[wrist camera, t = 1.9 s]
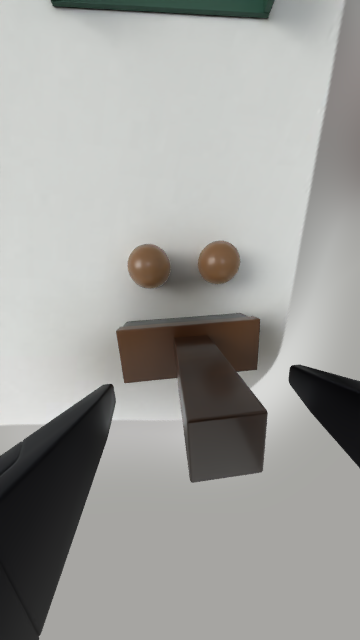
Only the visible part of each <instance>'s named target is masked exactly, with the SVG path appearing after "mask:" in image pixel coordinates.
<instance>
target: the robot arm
mask: <svg viewBox="0 0 360 640" xmlns="http://www.w3.org/2000/svg"><path fill="white" fill-rule="evenodd" d="M289 383H290V385H291V386H292V388H293V389H294V390H295V392H296V393H297V394H298V396H299V397H300V398H301V400H302V401H303V402H304V404H305V405H306V406H307V408H308V409H309V410H310V412H311V413H312V414H313V415H314V416H315V417H316V419H317V420H318V421H319V422H320V423H321V424H322V426H323V427H324V428H325V429H326V430H327V431H328V432H329V434H330V435H331V436H332V437H333V438H334V439H335V440H336V441H337V442H338V444H339V445H340V446H341V447H342V448H343V449H344V451H345V452H346V453H347V454H348V455H349V456H350V457H351V459H352V460H353V461H354V462H355V463H356V464H357V465H358V466H359V468H360V381H357V380H353V379H350V378H346V377H342V376H338V375H335V374H332V373H327V372H324V371H321V370H317V369H313V368H310V367H306V366H302V365H292V366H291V367H290V372H289ZM115 403H116V398H115V392H114V387H113V385H112V384H105V385H102V386H101V387H99V388H98V389H96V390H95V391H94V392H92V393H91V394H89V395H88V396H86V397H85V398H83V399H82V400H81V401H79V402H78V403H76V404H75V405H73V406H72V407H70V408H69V409H67V410H66V411H65V412H63V413H62V414H60V415H59V416H57V417H56V418H54V419H53V420H52V421H50V422H49V423H47V424H46V425H44V426H43V427H41V428H40V429H39V430H37V431H36V432H34V433H33V434H31V435H30V436H29V437H27V438H26V439H24V440H23V442H20V443H19V444H17V445H15V446H14V447H12V448H11V449H10V450H8V451H7V452H5V453H4V454H2V455H1V456H0V640H39V635H40V634H41V632H42V629H43V626H44V623H45V620H46V617H47V614H48V611H49V608H50V605H51V602H52V599H53V596H54V593H55V591H56V587H57V585H58V581H59V579H60V576H61V573H62V570H63V567H64V564H65V561H66V558H67V555H68V552H69V549H70V546H71V544H72V540H73V537H74V535H75V532H76V529H77V526H78V523H79V520H80V517H81V514H82V511H83V508H84V505H85V502H86V500H87V497H88V494H89V491H90V488H91V485H92V482H93V479H94V476H95V473H96V470H97V467H98V464H99V461H100V458H101V455H102V453H103V449H104V446H105V444H106V441H107V437H108V433H109V429H110V425H111V421H112V416H113V412H114V408H115Z"/></svg>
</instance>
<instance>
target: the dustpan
mask: <svg viewBox="0 0 360 640" xmlns="http://www.w3.org/2000/svg"><path fill="white" fill-rule="evenodd" d="M51 2H52V5H53V6H59V7H77V8H95V9H114V10H132V11H150V12H168V13H186V14H204V15H222V16H240V17H258V18H268V16H269V13H270V10H271V8H272V5H273V3H274V0H51Z"/></svg>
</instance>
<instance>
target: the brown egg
mask: <svg viewBox="0 0 360 640" xmlns="http://www.w3.org/2000/svg"><path fill="white" fill-rule="evenodd" d="M128 271H129V274H130V276H131V278H132V279H133V281H134V282H135V283H136V284H138V285H139V286H141V287H144V288H149V289H152V288H157V287H159V286H161V285H163V284H164V283H165V282H166V281H167V279H168V277H169V275H170V271H171V265H170V260H169V258H168V256H167V254H166V253H165V252H164V251H163V250H162V249H161V248H160V247H158V246H156V245H152V244H144V245H141V246H138V247H137V248H135V249H134V250H133V251H132V253H131V254H130V256H129V259H128Z"/></svg>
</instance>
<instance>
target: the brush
mask: <svg viewBox="0 0 360 640" xmlns="http://www.w3.org/2000/svg"><path fill="white" fill-rule="evenodd" d="M259 332H260V319H258V318H256V317H253V316H251V317H248V316H246V315H243V314H241V313H236V314H223V315H210V316H197V317H184V318H171V319H158V320H145V321H132V322H126V324H125V325H124V326H123V327H119V329H118V330H117V331H116V334H117V340H118V346H119V353H120V359H121V365H122V372H123V378H124V383H131V382H141V381H151V380H161V379H170V378H177V380H178V388H179V396H180V404H181V412H182V420H183V427H184V436H185V443H186V451H187V460H188V467H189V476H190V481H191V482H200V481H206V480H214V479H220V478H227V477H233V476H240V475H247V474H254V473H259V472H262V471H263V462H264V449H265V438H266V426H267V410H266V409H265V408H264V406H263V405H262V404H261V403H260V401H259V400H258V399H257V398H256V396H255V395H254V394H253V392H252V391H251V390H250V388H249V387H248V386H247V385H246V383H245V382H244V381H243V379H242V378H241V377H240V376H239V374H238V373H237V372H238V371H248V370H257V365H258V348H259Z"/></svg>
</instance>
